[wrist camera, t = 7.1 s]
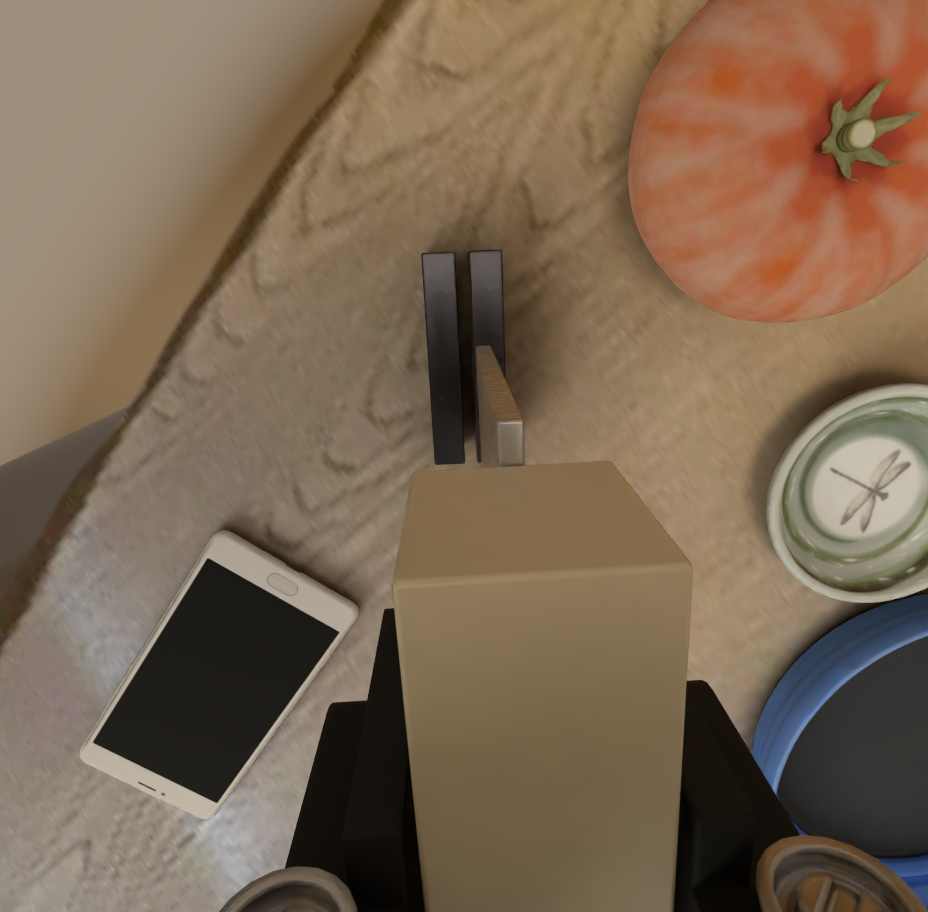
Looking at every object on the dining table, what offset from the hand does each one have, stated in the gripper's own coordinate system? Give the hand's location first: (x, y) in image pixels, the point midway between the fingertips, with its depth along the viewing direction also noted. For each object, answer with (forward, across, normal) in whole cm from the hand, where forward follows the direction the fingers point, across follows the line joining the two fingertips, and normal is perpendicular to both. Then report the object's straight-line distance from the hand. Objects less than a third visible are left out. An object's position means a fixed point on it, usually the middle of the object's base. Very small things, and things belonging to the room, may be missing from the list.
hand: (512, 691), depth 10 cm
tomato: (+19, -11, -9) cm, 23 cm away
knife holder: (+18, 0, -2) cm, 19 cm away
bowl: (+19, -22, +18) cm, 34 cm away
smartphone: (+19, +13, +13) cm, 26 cm away
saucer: (+19, -17, +4) cm, 25 cm away
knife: (+5, 0, 0) cm, 5 cm away
